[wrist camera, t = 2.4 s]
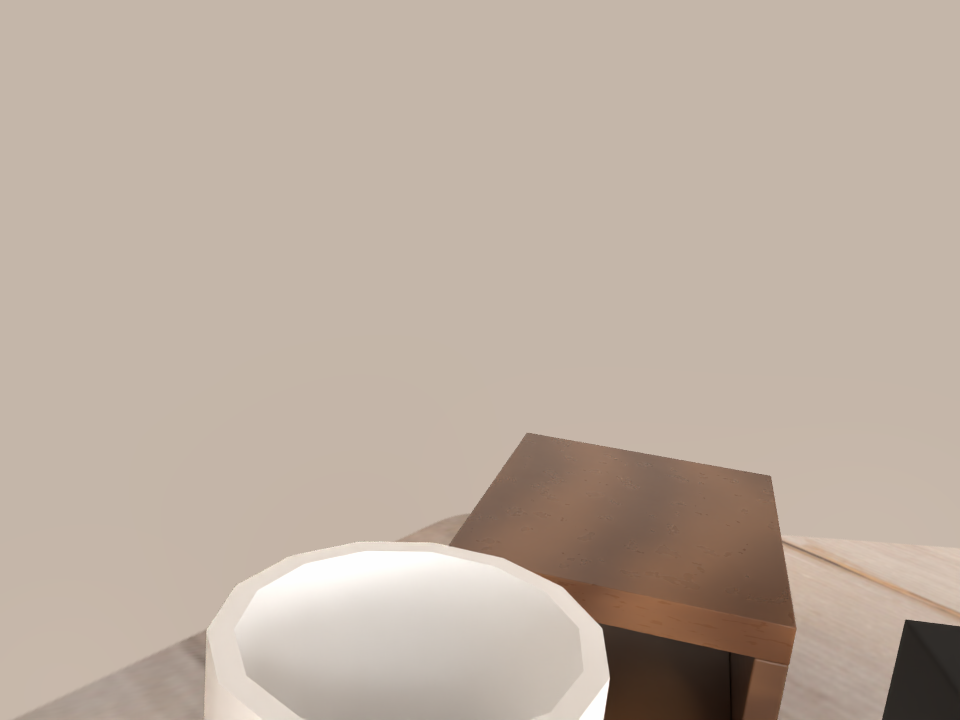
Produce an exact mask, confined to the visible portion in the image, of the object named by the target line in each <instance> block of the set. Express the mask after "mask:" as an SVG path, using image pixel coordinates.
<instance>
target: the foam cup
mask: <svg viewBox="0 0 960 720" xmlns="http://www.w3.org/2000/svg"><path fill="white" fill-rule="evenodd" d="M609 681H610V675H609V668H608V662H607V655H606V649H605V642H604V636H603V629H602V628H601V626H600V625H599V624H598V623H597V622H596V621H595V620H594V619H593V618H592V617H591V616H590V615H589V614H588V613H587V612H586V611H585V610H584V609H583V608H582V607H581V606H580V605H579V604H578V603H577V601H576V600H575V599H574V598H573V597H572V596H571V595H570V594H569V593H568V592H567V591H566V590H565V589H564V588H563V587H561V586H559V585H557V584H555V583H553V582H551V581H549V580H547V579H545V578H543V577H541V576H539V575H537V574H535V573H533V572H531V571H529V570H527V569H525V568H523V567H520V566H518V565H516V564H514V563H512V562H510V561H508V560H506V559H504V558H501V557H496V556H492V555H487V554H483V553H478V552H474V551H469V550H465V549H460V548H456V547H451V546H446V545H442V544H437V543H432V542H365V541H360V542H354V543H350V544H345V545H340V546H335V547H330V548H325V549H321V550H316V551H310V552H306V553H301V554H296V555H291V556H289V557H287V558H285V559H283V560H282V561H280V562H278V563H276V564H274V565H272V566H270V567H269V568H267V569H265V570H263V571H261V572H260V573H258V574H256V575H254V576H252V577H250V578H248V579H246V580H245V581H243V582H241V583H239V584H237V585H236V586H235V587H234V589H233V590H232V592H231V593H230V595H229V596H228V598H227V599H226V601H225V602H224V604H223V605H222V607H221V609H220V610H219V612H218V613H217V615H216V616H215V618H214V619H213V621H212V622H211V624H210V626H209V627H208V628H207V632H206V665H205V699H204V720H604V713H605V707H606V700H607V694H608V687H609Z"/></svg>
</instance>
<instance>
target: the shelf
mask: <svg viewBox="0 0 960 720" xmlns="http://www.w3.org/2000/svg"><path fill="white" fill-rule="evenodd" d="M449 546H451V547H456V548H460V549H465V550H469V551H474V552H478V553H483V554H487V555H492V556H496V557H501V558H504V559H506V560H508V561H510V562H512V563H514V564H516V565H518V566H520V567H523V568H525V569H527V570H529V571H531V572H533V573H535V574H537V575H539V576H541V577H543V578H545V579H547V580H549V581H551V582H553V583H555V584H557V585H559V586H561V587H563V588H564V589H565V590H566V591H567V592H568V593H569V594H570V595H571V596H572V597H573V598H574V599H575V600H576V601H577V603H578V604H579V605H580V606H581V607H582V608H583V609H584V610H585V611H586V612H587V613H588V614H589V615H590V616H591V617H592V618H593V619H594V620H595V621H596V622H597V623H598V624H599V625H600V626H601V628H602V629H603V636H604V642H605V649H606V655H607V662H608V668H609V675H610V681H609V687H608V694H607V700H606V707H605V713H604V720H777V719H778V714H779V709H780V705H781V700H782V695H783V690H784V685H785V681H786V676H787V671H788V665H789V662H790V658H791V653H792V648H793V643H794V638H795V634H796V623H795V617H794V611H793V605H792V599H791V593H790V587H789V581H788V575H787V569H786V563H785V557H784V551H783V545H782V539H781V533H780V527H779V521H778V515H777V509H776V504H775V498H774V492H773V486H772V480H771V476H768V475H762V474H756V473H751V472H745V471H739V470H734V469H728V468H723V467H717V466H712V465H705V464H700V463H695V462H689V461H683V460H678V459H672V458H667V457H661V456H655V455H649V454H644V453H639V452H633V451H627V450H622V449H616V448H610V447H605V446H599V445H594V444H588V443H582V442H576V441H571V440H565V439H559V438H554V437H548V436H543V435H537V434H532V433H527V434H526V435H525V436H524V438H523V439H522V441H521V442H520V444H519V445H518V447H517V448H516V449H515V451H514V453H513V454H512V455H511V457H510V458H509V459H508V461H507V462H506V464H505V465H504V467H503V468H502V470H501V471H500V473H499V474H498V475H497V477H496V479H495V480H494V481H493V482H492V484H491V485H490V487H489V488H488V490H487V491H486V493H485V494H484V496H483V497H482V498H481V500H480V501H479V503H478V504H477V506H476V507H475V508H474V510H473V511H472V513H471V514H470V516H469V517H468V518H467V520H466V521H465V523H464V524H463V526H462V527H461V528H460V530H459V531H458V533H457V534H456V536H455V537H454V539H453V540H452V541H451V543H450V544H449Z"/></svg>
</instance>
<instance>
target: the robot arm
mask: <svg viewBox="0 0 960 720" xmlns="http://www.w3.org/2000/svg"><path fill="white" fill-rule="evenodd" d="M882 720H960V626H952V625H944V624H936V623H929V622H921V621H913V620H905V624H904V628H903V632H902V637H901V641H900V645H899V650H898V654H897V658H896V663H895V667H894V671H893V675H892V680H891V684H890V688H889V693H888V697H887V701H886V705H885V710H884V714H883V718H882Z"/></svg>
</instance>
